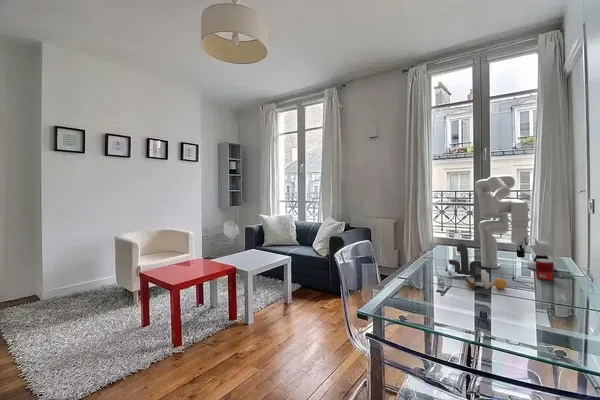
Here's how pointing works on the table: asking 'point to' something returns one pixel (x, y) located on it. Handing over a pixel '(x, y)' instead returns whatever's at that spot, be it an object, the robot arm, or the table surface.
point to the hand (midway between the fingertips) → (520, 257)
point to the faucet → (465, 262)
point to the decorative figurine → (539, 253)
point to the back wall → (470, 282)
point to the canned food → (545, 269)
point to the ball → (500, 283)
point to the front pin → (482, 284)
